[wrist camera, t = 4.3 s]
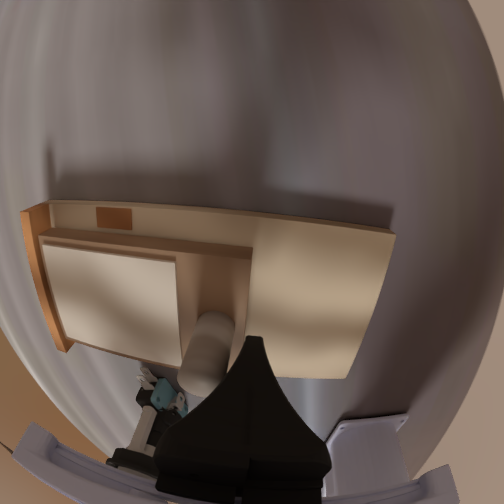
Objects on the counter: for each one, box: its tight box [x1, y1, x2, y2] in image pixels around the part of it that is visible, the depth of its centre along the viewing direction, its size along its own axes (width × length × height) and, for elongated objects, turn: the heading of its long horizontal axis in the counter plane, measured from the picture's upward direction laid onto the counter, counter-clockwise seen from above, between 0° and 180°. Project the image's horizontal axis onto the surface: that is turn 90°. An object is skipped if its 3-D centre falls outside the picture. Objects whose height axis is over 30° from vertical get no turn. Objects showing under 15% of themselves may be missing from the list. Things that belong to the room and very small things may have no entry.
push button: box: [106, 368, 188, 481], centre depth 16 cm, size 7×5×10 cm
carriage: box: [38, 227, 253, 397], centre depth 13 cm, size 8×13×6 cm, turn 85°
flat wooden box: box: [20, 200, 396, 379], centre depth 15 cm, size 11×22×3 cm, turn 85°
